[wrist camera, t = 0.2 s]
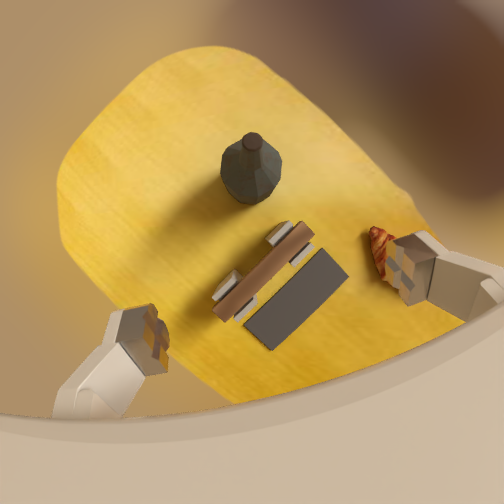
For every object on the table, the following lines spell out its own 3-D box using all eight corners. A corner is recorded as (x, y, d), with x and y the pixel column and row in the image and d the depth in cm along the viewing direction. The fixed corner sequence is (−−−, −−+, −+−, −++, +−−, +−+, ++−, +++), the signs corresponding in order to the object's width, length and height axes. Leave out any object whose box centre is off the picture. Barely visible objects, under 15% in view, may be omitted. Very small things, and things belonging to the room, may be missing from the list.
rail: (311, 234, 53) (315, 234, 50) (226, 317, 54) (224, 322, 51) (299, 221, 53) (302, 220, 50) (213, 306, 54) (211, 310, 51)
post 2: (302, 243, 63) (314, 246, 51) (285, 259, 63) (294, 267, 51) (281, 222, 63) (289, 220, 50) (264, 238, 63) (268, 240, 51)
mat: (348, 276, 64) (349, 276, 63) (271, 349, 65) (272, 350, 64) (321, 247, 63) (322, 247, 63) (243, 324, 64) (243, 325, 64)
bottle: (241, 213, 63) (234, 199, 33) (218, 174, 62) (193, 129, 32) (282, 189, 62) (312, 155, 32) (259, 150, 62) (268, 89, 32)
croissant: (414, 282, 68) (438, 277, 61) (400, 312, 64) (425, 308, 56) (368, 220, 66) (392, 209, 59) (350, 247, 62) (375, 237, 55)
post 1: (255, 289, 64) (257, 303, 51) (239, 304, 64) (237, 322, 52) (234, 268, 63) (231, 277, 51) (218, 284, 64) (211, 297, 51)
